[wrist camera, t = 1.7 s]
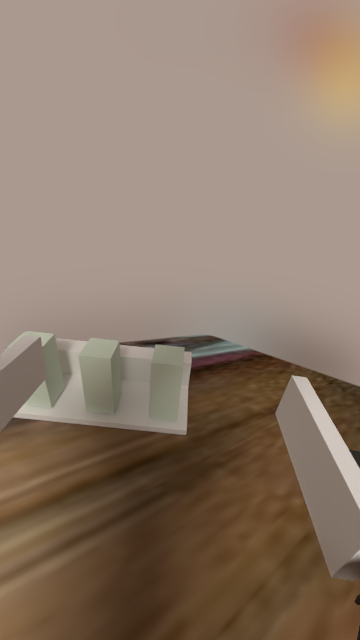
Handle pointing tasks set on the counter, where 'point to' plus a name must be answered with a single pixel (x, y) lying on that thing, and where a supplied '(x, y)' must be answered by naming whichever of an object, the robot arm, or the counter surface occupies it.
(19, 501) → the counter surface
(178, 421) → the button panel
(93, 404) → the middle button
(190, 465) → the counter surface
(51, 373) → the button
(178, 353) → the pale green tall block
